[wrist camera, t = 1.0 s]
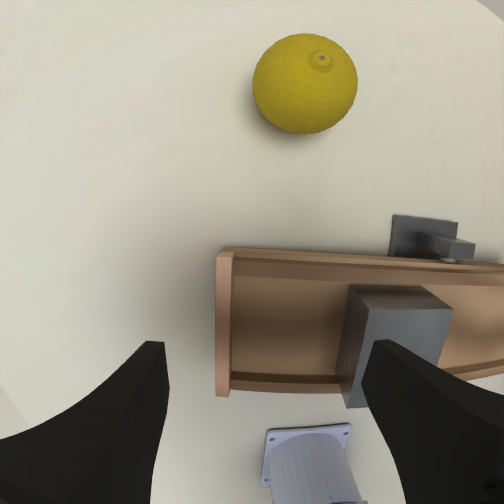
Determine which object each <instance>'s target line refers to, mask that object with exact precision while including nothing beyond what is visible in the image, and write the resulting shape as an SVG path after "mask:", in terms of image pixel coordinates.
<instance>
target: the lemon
mask: <svg viewBox="0 0 504 504" xmlns="http://www.w3.org/2000/svg"><path fill="white" fill-rule="evenodd" d="M357 84H358V77H357V73H356V69H355V66H354V64H353V62H352V60H351V58H350V57H349V55H348V54H347V53H346V52H345V50H344V49H343V48H342V47H340V46H339V45H338V44H337V43H335V42H334V41H332V40H330V39H328V38H326V37H323V36H319V35H315V34H303V33H301V34H296V35H291V36H288V37H286V38H283V39H281V40H279V41H277V42H276V43H275V44H273V45H272V46H271V47H270V48H269V49H267V50H266V51H265V53H264V54H263V56H262V57H261V59H260V60H259V62H258V63H257V66H256V69H255V72H254V76H253V94H254V97H255V101H256V104H257V106H258V107H259V109H260V111H261V112H262V114H263V115H264V116H265V117H266V118H267V119H268V120H269V121H270V122H271V123H272V124H274V125H275V126H277V127H279V128H280V129H282V130H285V131H288V132H291V133H297V134H311V133H318V132H321V131H323V130H326V129H328V128H331V127H332V126H334V125H335V124H336V123H337V122H339V121H340V120H341V119H343V118H344V116H345V115H346V114H347V112H348V111H349V109H350V108H351V106H352V105H353V102H354V99H355V96H356V93H357Z"/></svg>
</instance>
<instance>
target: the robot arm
mask: <svg viewBox="0 0 504 504" xmlns="http://www.w3.org/2000/svg"><path fill="white" fill-rule="evenodd" d="M361 386H362V389H363V392H364V396H365V398H366V401H367V404H368V407H369V409H370V411H371V413H372V415H373V417H374V419H375V421H376V423H377V425H378V427H379V429H380V431H381V433H382V435H383V437H384V439H385V441H386V443H387V445H388V447H389V449H390V451H391V454H392V456H393V458H394V461H395V464H396V467H397V471H398V474H399V477H400V480H401V484H402V488H403V492H404V496H405V500H406V504H504V395H501V394H498V393H495V392H491V391H488V390H485V389H483V388H480V387H478V386H475V385H473V384H470V383H468V382H466V381H463V380H461V379H459V378H457V377H455V376H453V375H451V374H449V373H448V372H446V371H444V370H442V369H440V368H438V367H437V366H435V365H433V364H431V363H430V362H428V361H426V360H425V359H423V358H421V357H420V356H418V355H416V354H415V353H413V352H411V351H410V350H408V349H406V348H405V347H403V346H401V345H400V344H398V343H396V342H394V341H392V340H390V339H382V340H374V343H373V346H372V350H371V353H370V356H369V359H368V363H367V366H366V369H365V372H364V375H363V378H362V381H361ZM169 390H170V386H169V379H168V371H167V363H166V354H165V345H164V342H156V341H146V342H144V343H143V344H142V345H141V346H140V347H139V348H138V349H137V350H136V351H135V352H134V353H133V354H132V355H131V356H130V357H129V358H128V359H127V360H126V361H125V362H124V363H123V364H122V365H121V366H120V367H119V368H118V369H117V370H116V371H115V372H114V373H113V374H112V375H111V376H110V377H109V378H108V379H107V380H105V381H104V382H103V383H102V384H101V385H99V386H98V387H97V388H96V389H95V390H94V391H92V392H91V393H90V394H89V395H87V396H86V397H85V398H83V399H82V400H80V401H79V402H78V403H76V404H75V405H73V406H72V407H70V408H69V409H67V410H65V411H64V412H62V413H60V414H58V415H56V416H55V417H53V418H51V419H49V420H47V421H45V422H44V423H42V424H40V425H37V426H35V427H33V428H31V429H28V430H26V431H24V432H21V433H19V434H16V435H13V436H10V437H7V438H4V439H0V504H150V497H151V485H152V475H153V469H154V464H155V460H156V455H157V451H158V447H159V443H160V439H161V435H162V430H163V426H164V422H165V418H166V414H167V407H168V398H169ZM351 430H352V426H351V424H343V425H334V426H325V427H314V428H300V429H282V430H270V431H268V432H267V437H266V445H265V453H264V461H263V469H262V476H261V486H263V487H271V494H272V502H273V504H368V502H367V501H366V500H365V501H362V498H361V495H360V493H359V490H358V488H357V485H356V482H355V480H354V477H353V475H352V472H351V469H350V467H349V464H348V462H347V459H346V457H345V454H344V450H345V447H346V444H347V442H348V439H349V436H350V433H351Z"/></svg>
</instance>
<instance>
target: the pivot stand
mask: <svg viewBox="0 0 504 504" xmlns="http://www.w3.org/2000/svg"><path fill="white" fill-rule="evenodd" d="M457 227H458V223H457V222H453V221H445V220H437V219H428V218H420V217H410V216H401V215H393V223H392V233H391V242H390V250H389V257H401V258H416V259H432V260H439V259H440V256H446V257H448V258H468V259H473V257H474V250H475V244H474V243H471V242H468V241H464V240H461V239H458V238H456V236H457Z"/></svg>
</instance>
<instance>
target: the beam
mask: <svg viewBox="0 0 504 504" xmlns="http://www.w3.org/2000/svg"><path fill="white" fill-rule="evenodd" d="M349 284H370V285H399V286H423V287H424V288H426V289H427V290H428V291H430V292H431V293H433V294H434V295H435V296H437V297H438V298H439V299H441V300H442V301H444V302H445V303H446V304H448V305H449V306H450V307H452V308H453V309H454V310H453V314H452V318H451V321H450V325H449V329H448V332H447V336H446V339H445V343H444V346H443V349H442V352H441V355H440V358H439V361H438V364H437V367H438V368H440V369H442V370H444V371H446V372H448V373H449V374H451V375H453V376H455V377H457V378H459V379H461V380H463V381H468V380H473V379H478V378H483V377H488V376H493V375H497V374H501V373H504V264H493V263H478V262H463V261H455V258H448V257H446V256H440V259H439V260H432V259H416V258H401V257H385V256H369V255H353V254H337V253H320V252H304V251H287V250H270V249H254V248H237V247H223V249H222V250H221V251H220V252H219V254H218V255H217V256H216V300H215V378H216V396H220V397H229V392H230V389H233V390H244V391H258V392H276V393H342V392H341V389H340V386H339V383H338V380H337V376H336V373H335V366H336V361H337V356H338V351H339V345H340V340H341V335H342V329H343V323H344V317H345V311H346V304H347V298H348V291H349Z"/></svg>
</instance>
